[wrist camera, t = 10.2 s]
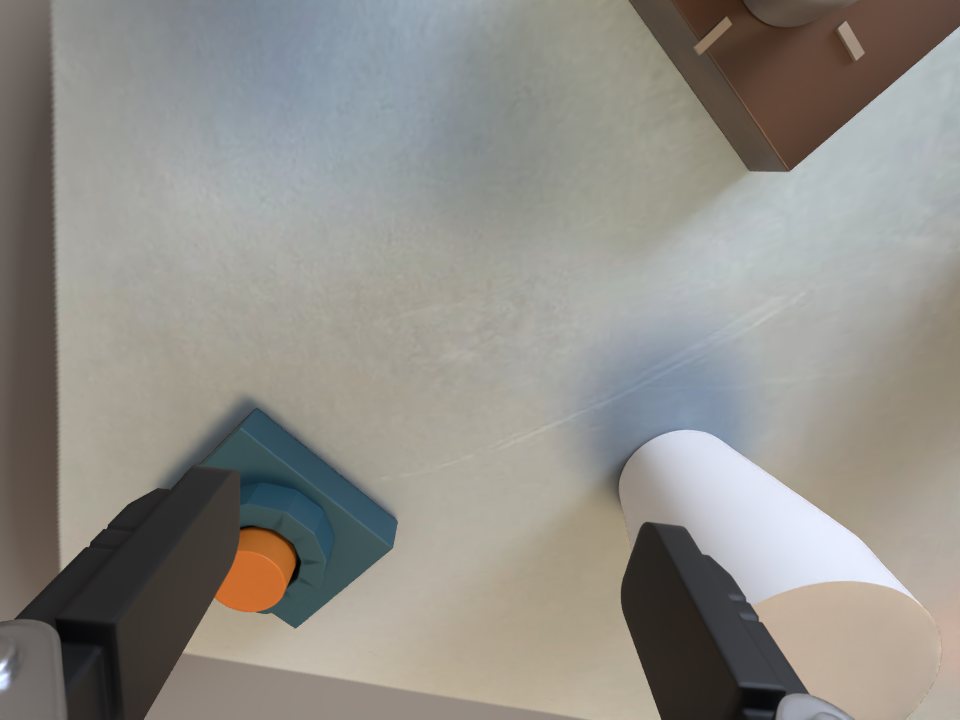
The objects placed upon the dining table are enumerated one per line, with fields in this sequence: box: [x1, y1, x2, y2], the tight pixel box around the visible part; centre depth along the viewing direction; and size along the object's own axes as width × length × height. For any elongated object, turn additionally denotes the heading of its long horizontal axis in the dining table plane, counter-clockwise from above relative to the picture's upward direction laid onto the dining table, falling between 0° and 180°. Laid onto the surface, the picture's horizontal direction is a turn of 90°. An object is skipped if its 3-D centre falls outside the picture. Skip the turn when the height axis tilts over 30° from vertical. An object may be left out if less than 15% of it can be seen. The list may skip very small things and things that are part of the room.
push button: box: [215, 526, 296, 612], centre depth 25 cm, size 4×4×2 cm
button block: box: [200, 409, 398, 628], centre depth 27 cm, size 10×8×4 cm
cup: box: [619, 430, 942, 720], centre depth 23 cm, size 9×9×12 cm
